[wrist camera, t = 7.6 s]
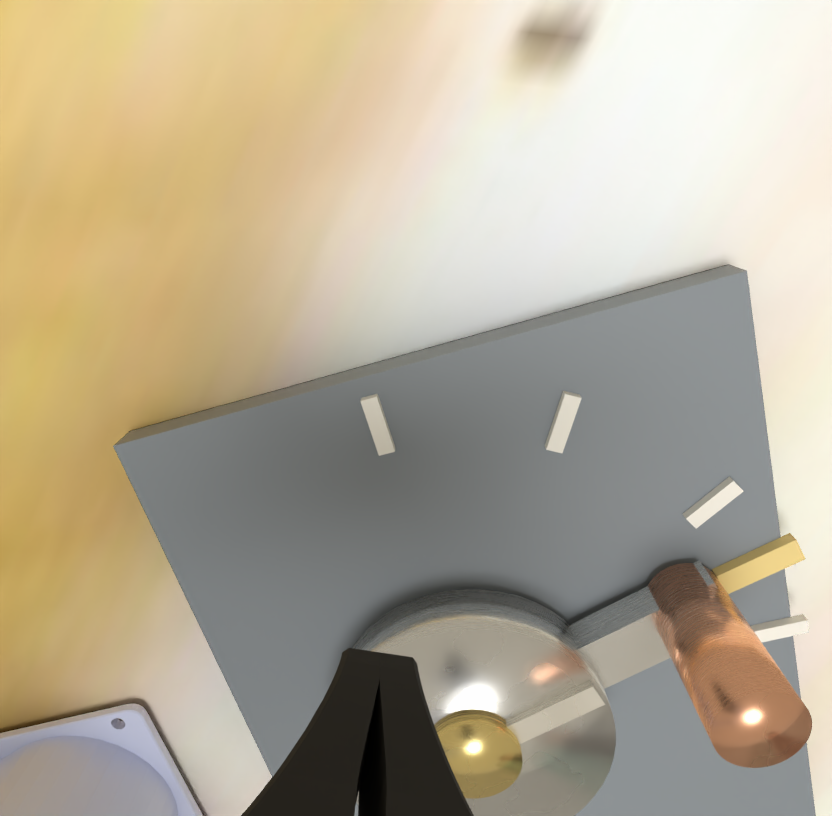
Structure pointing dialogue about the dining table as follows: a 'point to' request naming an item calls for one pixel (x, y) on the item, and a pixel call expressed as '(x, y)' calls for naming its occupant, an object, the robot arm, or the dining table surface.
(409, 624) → the dial
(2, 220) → the dining table surface
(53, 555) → the dining table surface
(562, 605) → the board
